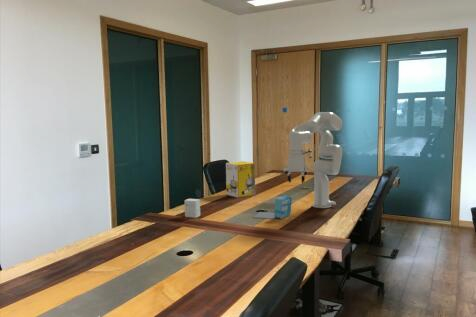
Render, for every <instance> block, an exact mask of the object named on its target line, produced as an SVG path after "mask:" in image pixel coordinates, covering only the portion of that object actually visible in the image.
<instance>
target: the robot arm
mask: <svg viewBox="0 0 476 317" xmlns="http://www.w3.org/2000/svg"><path fill="white" fill-rule="evenodd" d="M342 128H343V120H342V119H341V117H339V116H338V115H337V114H336V113H334V112H331V111H326V112H325V111H319V112H316V113H315V114H314V115H312V117H311V118H310V119H309V120H308V121H305V122H303V123H300V124H298V125H296V126H294V128H292V129H291V130H290V132H289V133H288V140H289V154H288V159H287V165H286V166H285V167H283V168H282V170H283V172H284V173H285V175H287V181H288V183H291V182H292V176H291V174H292V173H294V172H295V173H301V183H302V184H303V183H304V182H305V181H306V180H305V177H306V175H307V174H308V173H309V172H310V171H311V170H310V168H309V167H308V166H307V165H306V158H305V154H306V150H304V148H303V146H304V144H309V143H311V142H312V140H313V134H315V133H317V132H319V136H320V139H319V140H320V141H319V147H318V150H317V152H318V154H317V156H318V157H319V158H320V159H317V160H314V162H313V164H312V168H313V175H314V176H313V177H314V201H313V202H314V203H312V204H311V206H312V207H313V208H317V209H328V208H331V207H332V205H334V206H335V205H337V204H336V201H333V200H330V178H329V177H328V176H327V175H331V176H337V175H338V174H339V173H340V170H341V169H340V168H341V165H342V159H343V158H342V157H343V147H342V146H341V145H339V144H334V143H333V142H334V136H333V134H332V133H331V131H340V130H341V129H342Z"/></svg>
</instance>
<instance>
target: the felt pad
mask: <svg viewBox="0 0 476 317" xmlns="http://www.w3.org/2000/svg"><path fill="white" fill-rule="evenodd" d="M252 218H254V219H256V218H257V219H266V220H275V219H276V217H274V212H269V211H268V212H267V211H259V212H257V213H256V214H255V215H254V216H253V217H252Z"/></svg>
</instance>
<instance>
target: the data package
mask: <svg viewBox="0 0 476 317" xmlns="http://www.w3.org/2000/svg"><path fill="white" fill-rule="evenodd" d="M292 198H293V197H291V196H288V195H281V196H278V197H277V198H275V200H274V212H273V213H274V217H276V218H277V219H284V218H287V217H290V215H291V213H292V212H291V211H292ZM276 218H275V219H276Z"/></svg>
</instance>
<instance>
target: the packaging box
mask: <svg viewBox="0 0 476 317" xmlns="http://www.w3.org/2000/svg"><path fill="white" fill-rule="evenodd" d="M225 180H226V181H225V186H226V187H225V188H226V190H225V191H226V195H228V196H231V197H234V198H237V199H239V198H244V197H250V196H256V163H255V162H250V161H243V160H242V161H232V162H231V161H230V162H226V163H225Z"/></svg>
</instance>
